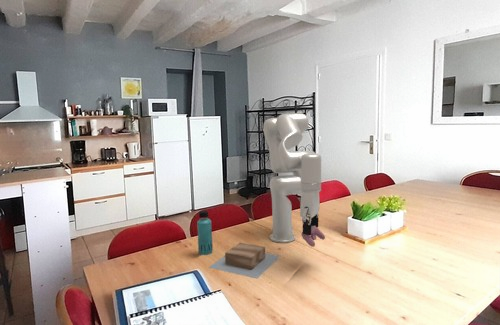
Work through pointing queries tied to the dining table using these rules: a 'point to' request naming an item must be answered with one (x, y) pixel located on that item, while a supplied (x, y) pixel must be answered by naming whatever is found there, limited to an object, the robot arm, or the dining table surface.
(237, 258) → the walnut block
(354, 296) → the dining table surface
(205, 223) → the beverage bottle
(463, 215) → the dining table surface
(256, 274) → the base plate
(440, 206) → the dining table surface
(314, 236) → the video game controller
